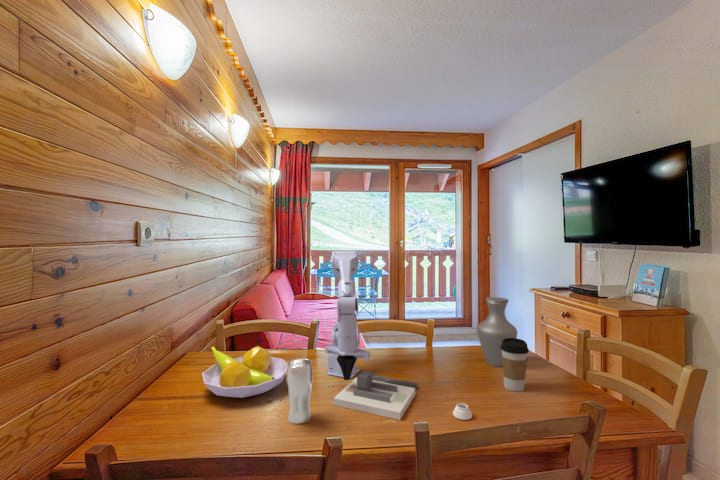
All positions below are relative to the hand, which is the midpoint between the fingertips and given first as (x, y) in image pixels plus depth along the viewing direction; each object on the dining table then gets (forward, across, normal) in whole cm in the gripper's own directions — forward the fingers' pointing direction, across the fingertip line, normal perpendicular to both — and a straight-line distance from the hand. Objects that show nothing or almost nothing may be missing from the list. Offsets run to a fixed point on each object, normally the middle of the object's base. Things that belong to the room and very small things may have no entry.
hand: (347, 378), depth 106 cm
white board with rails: (+5, +9, +3) cm, 11 cm away
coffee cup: (+5, +47, +26) cm, 54 cm away
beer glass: (+5, -6, -18) cm, 19 cm away
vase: (+5, +41, +46) cm, 62 cm away
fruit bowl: (+5, -32, -9) cm, 34 cm away
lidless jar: (+5, +34, +1) cm, 35 cm away
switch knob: (+2, +6, 0) cm, 6 cm away
